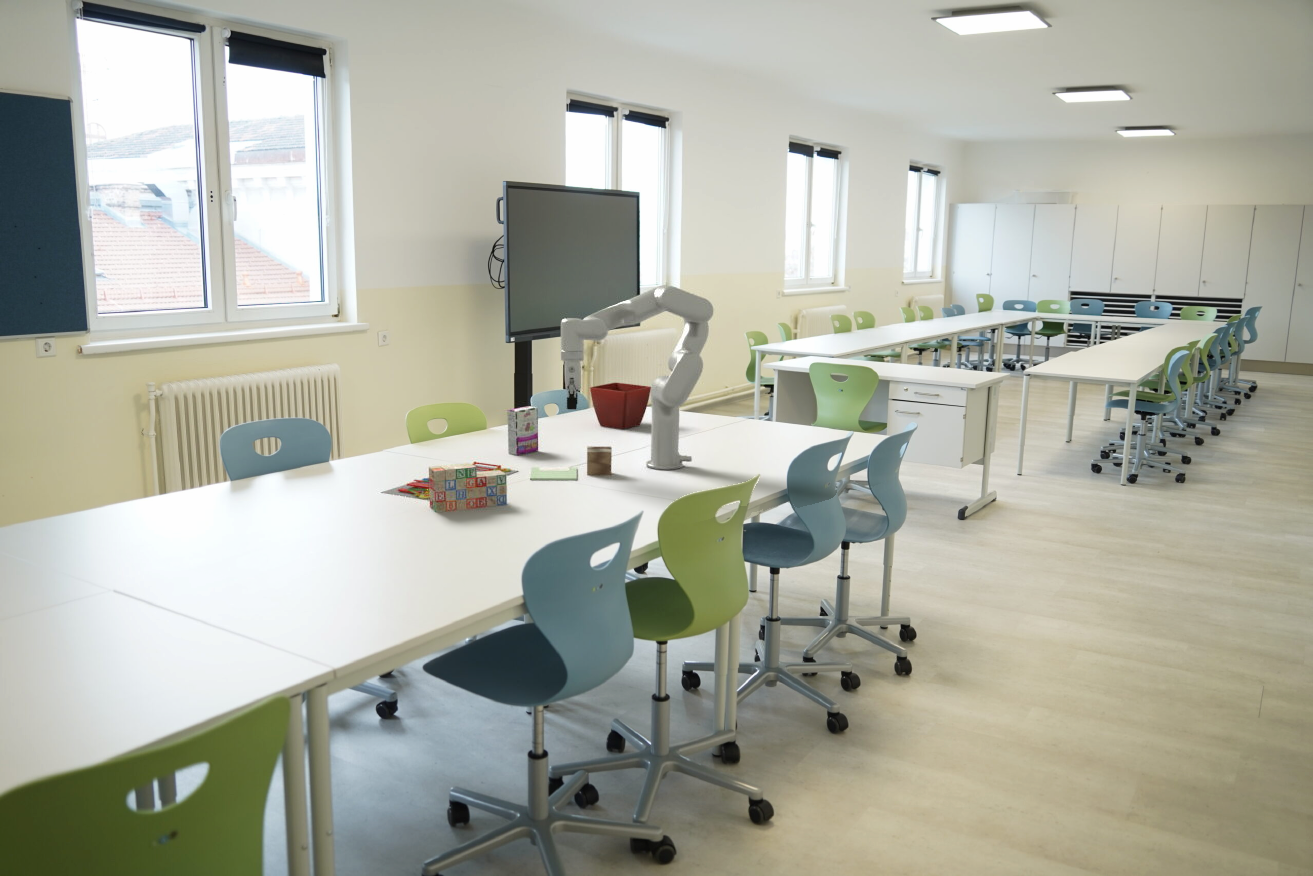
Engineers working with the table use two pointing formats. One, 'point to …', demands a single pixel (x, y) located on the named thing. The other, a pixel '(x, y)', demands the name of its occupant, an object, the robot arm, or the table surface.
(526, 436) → the candy bar box
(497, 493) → the stack of blocks
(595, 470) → the walnut slab
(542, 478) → the green mat
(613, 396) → the plant pot
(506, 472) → the gear board
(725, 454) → the table surface
